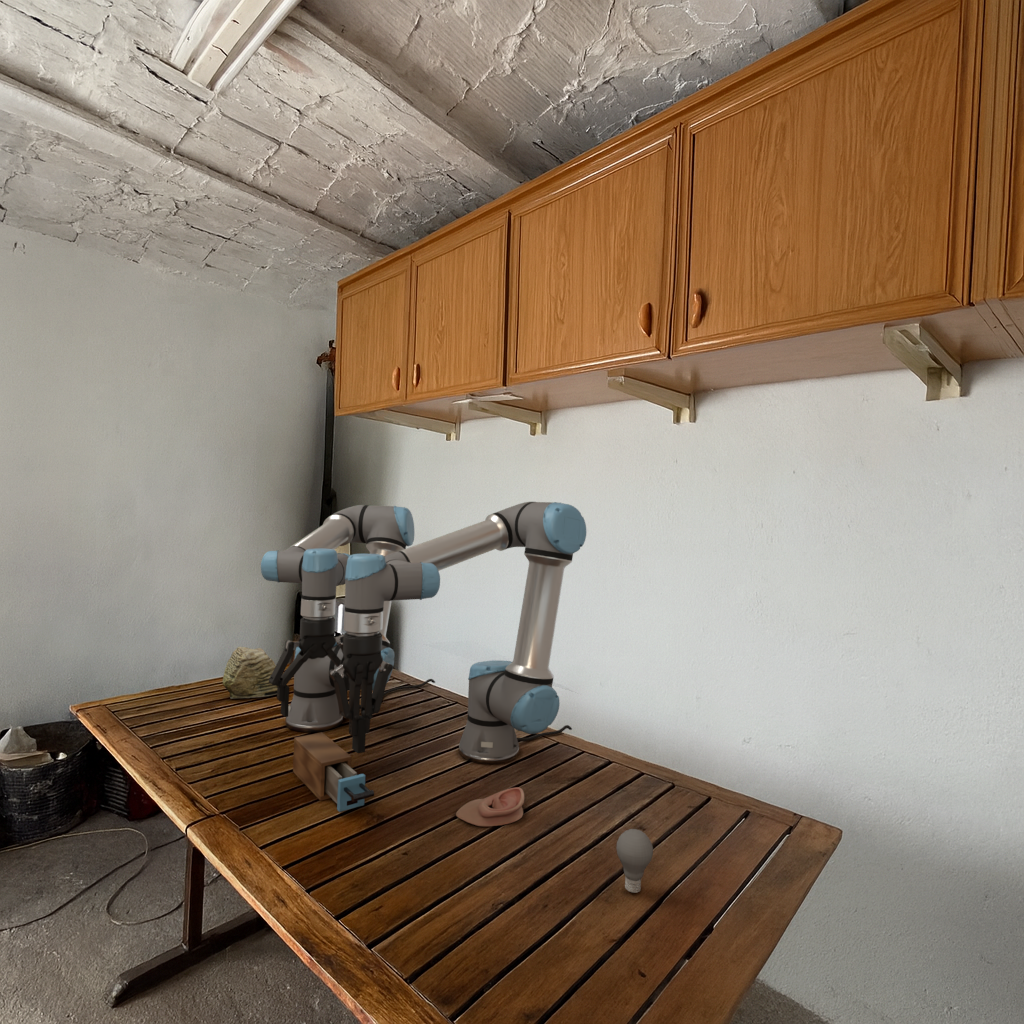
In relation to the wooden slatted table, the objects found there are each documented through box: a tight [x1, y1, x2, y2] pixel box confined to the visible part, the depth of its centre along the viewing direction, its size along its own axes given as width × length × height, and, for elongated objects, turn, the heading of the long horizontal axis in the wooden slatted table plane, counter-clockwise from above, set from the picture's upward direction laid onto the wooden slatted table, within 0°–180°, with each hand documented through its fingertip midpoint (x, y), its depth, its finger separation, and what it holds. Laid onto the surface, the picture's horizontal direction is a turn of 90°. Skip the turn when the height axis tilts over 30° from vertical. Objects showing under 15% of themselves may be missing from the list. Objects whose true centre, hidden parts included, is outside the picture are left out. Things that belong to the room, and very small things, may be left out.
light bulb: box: [615, 828, 654, 894], centre depth 106 cm, size 6×6×10 cm
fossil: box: [222, 646, 277, 699], centre depth 198 cm, size 9×18×15 cm, turn 132°
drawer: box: [324, 762, 375, 813], centre depth 131 cm, size 21×5×6 cm, turn 38°
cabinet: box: [292, 731, 352, 801], centre depth 141 cm, size 16×7×8 cm, turn 38°
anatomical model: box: [455, 786, 525, 827], centre depth 129 cm, size 13×4×12 cm
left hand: (314, 709), depth 144 cm, fingers open, 13 cm apart
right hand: (358, 750), depth 126 cm, fingers closed
